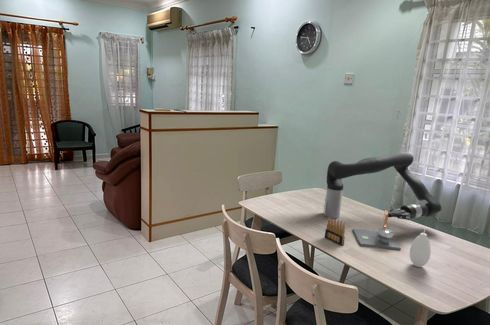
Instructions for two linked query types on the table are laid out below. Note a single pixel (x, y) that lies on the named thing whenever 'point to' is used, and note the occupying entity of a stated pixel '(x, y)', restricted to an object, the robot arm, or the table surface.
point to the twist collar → (383, 231)
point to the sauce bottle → (420, 250)
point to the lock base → (374, 240)
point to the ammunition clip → (335, 232)
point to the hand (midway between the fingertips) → (387, 215)
